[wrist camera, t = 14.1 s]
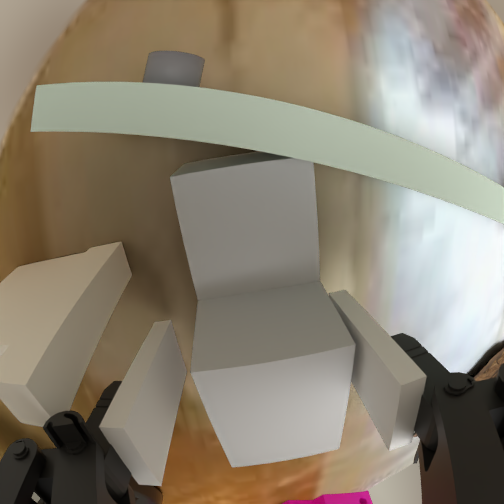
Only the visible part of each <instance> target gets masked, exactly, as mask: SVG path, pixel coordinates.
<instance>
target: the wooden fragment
mask: <svg viewBox="0 0 504 504" xmlns="http://www.w3.org/2000/svg"><path fill="white" fill-rule="evenodd" d="M503 363H504V347H503V349H502V350H501V351H500V352H498V353H497V354H496V355H495V356H494V357H493V358H492V359H490V360H489V362H488V364H487V365H486V366H484V368H482V370H480V372H479V373H478V374H477V375H476V376H475V377H474V379H475V381H481V380H486V379H490V378H494V377H497V374H498V370H499V368H500V366H501V365H502V364H503ZM417 436H418V435H417V434H415V435H413V437H417Z"/></svg>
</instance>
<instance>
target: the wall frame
mask: <svg viewBox="0 0 504 504" xmlns="http://www.w3.org/2000/svg"><path fill="white" fill-rule="evenodd" d="M131 277H132V273H131V270H130V267H129V264H128V261H127V258H126V255H125V251H124V248H123V245H122V241H121V242H116V243H111V244H106V245H101V246H96V247H91V248H89V249H88V250H87V251H86V252H84V253H79V254H74V255H69V256H65V257H60V258H55V259H50V260H46V261H41V262H36V263H32V264H27V265H23V266H18V267H17V268H16V269H15V270H14V271H13V272H12V273H10V274H9V275H8V276H7V277H6V278H5V279H4V280H3V281H2V282H1V283H0V399H1V400H2V402H3V403H4V404H5V405H6V406H7V408H8V409H9V410H10V411H11V412H12V414H13V415H14V416H15V417H16V418H17V419H18V420H19V421H20V423H25V424H29V425H34V426H40V427H43V426H44V424H45V422H46V421H47V420H48V419H49V418H50V417H51V416H53V415H55V414H56V413H59V412H62V411H70V408H71V406H72V403H73V401H74V398H75V396H76V393H77V391H78V388H79V386H80V383H81V381H82V378H83V376H84V374H85V371H86V369H87V367H88V365H89V362H90V360H91V358H92V356H93V353H94V351H95V349H96V347H97V345H98V342H99V340H100V338H101V336H102V334H103V332H104V330H105V328H106V325H107V323H108V321H109V319H110V317H111V315H112V313H113V311H114V309H115V307H116V305H117V303H118V301H119V299H120V297H121V295H122V294H123V292H124V290H125V288H126V286H127V284H128V282H129V280H130V278H131Z"/></svg>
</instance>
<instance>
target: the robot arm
mask: <svg viewBox="0 0 504 504" xmlns="http://www.w3.org/2000/svg"><path fill="white" fill-rule="evenodd" d="M329 297H330V299H331V301H332V303H333V304H334V306H335V308H336V310H337V312H338V313H339V315H340V317H341V319H342V320H343V322H344V324H345V326H346V328H347V329H348V331H349V333H350V335H351V337H352V339H353V340H354V342H355V344H356V345H355V354H354V362H353V370H352V378H351V382H352V384H353V385H354V387H355V389H356V391H357V393H358V395H359V396H360V398H361V400H362V402H363V404H364V406H365V407H366V409H367V411H368V413H369V415H370V417H371V419H372V420H373V422H374V424H375V426H376V428H377V430H378V432H379V433H380V435H381V437H382V439H383V441H384V443H385V445H386V447H387V449H388V450H389V451H391V450H394V449H396V448H399V447H402V446H404V445H407V444H409V443H411V442H412V438H413V434H414V431H415V432H416V434H417V435H418V437H419V438H420V442H419V445H418V448H417V451H416V454H415V457H414V463H417V461H418V458H419V463H420V475H421V487H422V488H421V489H422V504H504V363H503V364H502V365H501V366H500V368H499V370H498V374H497V377H494V378H490V379H486V380H481V381H475V379H474V378H473V377H471V376H469V375H468V374H464V373H460V372H457V373H450V372H449V371H448V370H447V369H446V368H445V367H444V366H443V365H442V364H441V363H440V362H438V361H437V360H436V359H435V358H434V357H433V356H432V355H431V354H430V353H428V351H427V350H426V349H425V348H424V347H422V345H421V344H420V343H419V342H418V341H417V340H416V339H415V338H413V337H411V336H408V335H406V334H404V333H401V334H397V335H394V336H391V337H390V336H389V334H388V333H387V332H386V331H385V330H384V329H383V328H382V327H381V326H380V325H379V324H378V323H377V322H376V321H375V320H374V319H373V318H372V317H371V316H370V314H369V313H368V312H367V311H366V310H365V309H364V308H363V307H362V306H361V305H360V304H359V303H358V302H357V301H356V300H355V299H354V298H353V297H352V296H351V295H350V294H349V293H348V292H347V291H346V290H342V291H337V292H332V293H329ZM186 374H187V370H186V367H185V364H184V361H183V358H182V355H181V351H180V348H179V345H178V342H177V338H176V335H175V332H174V328H173V325H172V321H171V320H166V321H158V322H154V324H153V326H152V328H151V329H150V331H149V333H148V335H147V337H146V338H145V340H144V342H143V344H142V346H141V347H140V349H139V351H138V353H137V355H136V357H135V358H134V360H133V362H132V364H131V366H130V368H129V370H128V371H127V373H126V375H125V377H124V379H123V381H114V382H113V383H112V384H110V385H109V386H108V387H107V388H106V389H105V390H104V392H103V393H102V395H101V397H100V400H99V401H98V402H97V404H96V408H94V409H93V411H92V413H91V415H90V417H89V418H88V420H87V422H86V423H85V421H84V420H83V418H82V416H81V415H80V414H79V413H78V412H75V411H62V412H59V413H56V414H55V415H53V416H51V417H50V418H49V419H48V420H47V421H46V422H45V424H44V426H43V429H44V430H45V432H46V433H47V435H48V436H49V438H50V439H51V441H52V442H53V443H54V445H55V446H56V447H57V448H53V449H43V450H41V449H40V448H39V447H38V445H37V444H36V443H35V442H34V441H33V440H31V439H28V438H24V439H19V440H17V441H15V442H14V443H12V444H11V445H10V446H9V448H8V449H7V450H6V452H5V454H4V456H3V458H2V459H1V461H0V504H162V500H163V496H162V494H161V492H160V491H159V490H157V489H156V488H155V487H153V486H161V485H162V480H163V475H164V470H165V466H166V461H167V456H168V452H169V447H170V443H171V438H172V433H173V429H174V425H175V420H176V416H177V412H178V407H179V403H180V399H181V394H182V390H183V386H184V382H185V378H186ZM414 463H413V464H414ZM131 475H132V476H131ZM33 492H35V493H36V494H37V495H38V496H39V497H40V500H39V501H38V503H36V502H35V501H34V500H33V499H32V498H31V497H32V494H33Z"/></svg>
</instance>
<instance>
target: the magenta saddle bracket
mask: <svg viewBox="0 0 504 504" xmlns="http://www.w3.org/2000/svg"><path fill="white" fill-rule="evenodd" d="M282 504H372V501H371V498H370V495H369V492H368V490H367V491H365V492H356V493H344V494H326V495H322V496H320V497H318V498H316V499H314V500H288V501H286V502H284V503H282Z"/></svg>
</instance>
